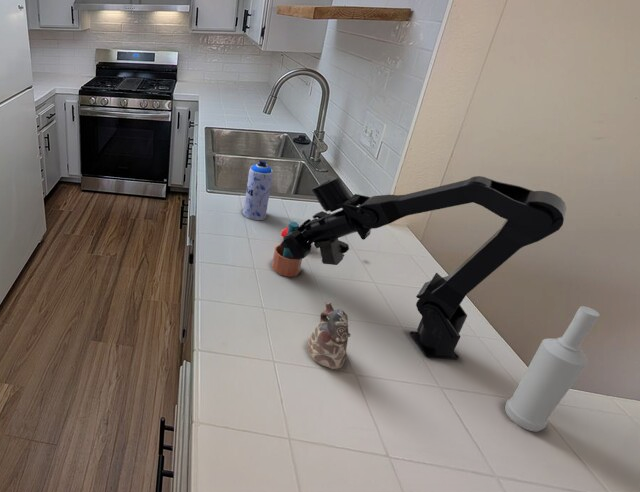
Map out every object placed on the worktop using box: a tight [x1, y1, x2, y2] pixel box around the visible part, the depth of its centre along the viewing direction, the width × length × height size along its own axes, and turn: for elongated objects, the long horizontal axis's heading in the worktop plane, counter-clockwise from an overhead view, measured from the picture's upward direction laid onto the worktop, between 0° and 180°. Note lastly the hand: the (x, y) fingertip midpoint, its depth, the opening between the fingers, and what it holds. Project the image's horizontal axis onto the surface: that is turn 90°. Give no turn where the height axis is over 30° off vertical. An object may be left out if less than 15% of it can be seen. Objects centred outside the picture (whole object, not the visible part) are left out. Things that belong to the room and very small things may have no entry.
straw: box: [283, 221, 300, 259], centre depth 103 cm, size 2×2×14 cm
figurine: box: [307, 301, 352, 370], centre depth 78 cm, size 7×7×12 cm
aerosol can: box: [242, 159, 274, 221], centre depth 129 cm, size 8×8×20 cm
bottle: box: [504, 305, 601, 433], centre depth 64 cm, size 5×5×25 cm
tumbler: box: [271, 244, 303, 278], centre depth 105 cm, size 7×7×6 cm
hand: (285, 243), depth 104 cm, fingers open, 4 cm apart
